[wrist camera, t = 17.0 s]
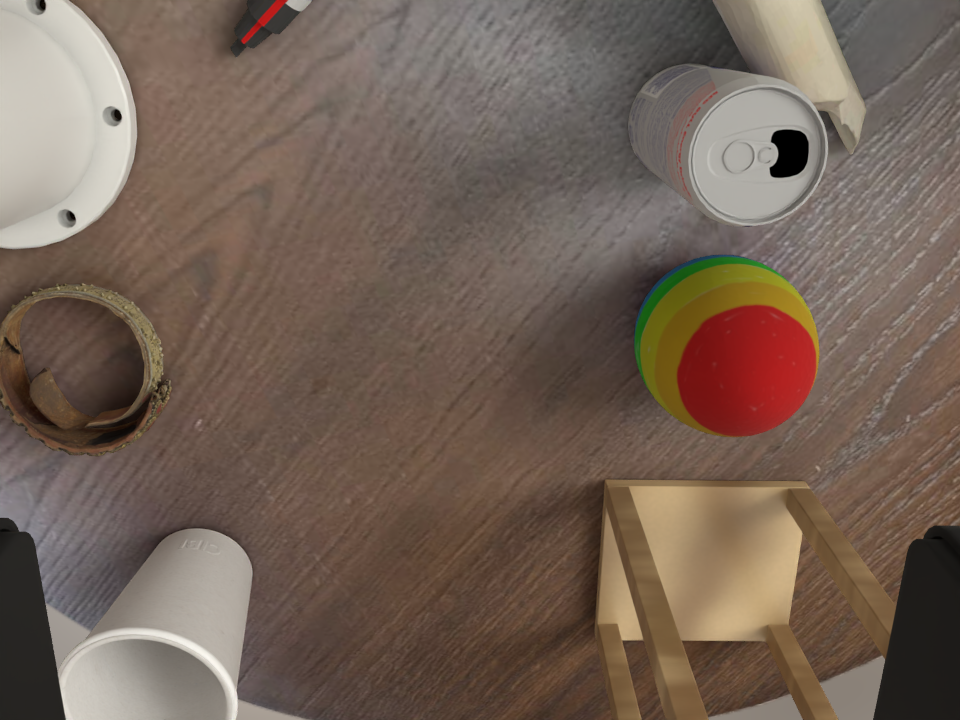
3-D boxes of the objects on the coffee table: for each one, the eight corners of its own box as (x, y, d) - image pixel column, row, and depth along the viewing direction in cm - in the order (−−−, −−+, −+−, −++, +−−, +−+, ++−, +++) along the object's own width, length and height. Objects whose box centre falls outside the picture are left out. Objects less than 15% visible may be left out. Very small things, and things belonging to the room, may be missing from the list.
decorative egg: (599, 364, 48) (631, 448, 38) (660, 217, 45) (711, 269, 36) (741, 411, 49) (806, 504, 39) (810, 270, 46) (897, 334, 36)
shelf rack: (594, 631, 53) (671, 1010, 33) (604, 479, 50) (697, 795, 29) (781, 633, 53) (974, 1010, 33) (804, 480, 50) (1036, 796, 30)
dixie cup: (133, 494, 49) (58, 616, 40) (287, 524, 50) (248, 651, 41) (119, 614, 53) (47, 753, 43) (264, 640, 53) (223, 782, 44)
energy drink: (737, 175, 44) (829, 227, 33) (627, 182, 44) (680, 236, 33) (741, 59, 42) (840, 72, 31) (626, 66, 42) (683, 82, 31)
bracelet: (136, 482, 46) (156, 460, 49) (183, 327, 44) (201, 313, 47) (-34, 424, 45) (-3, 405, 48) (5, 262, 43) (35, 252, 46)
